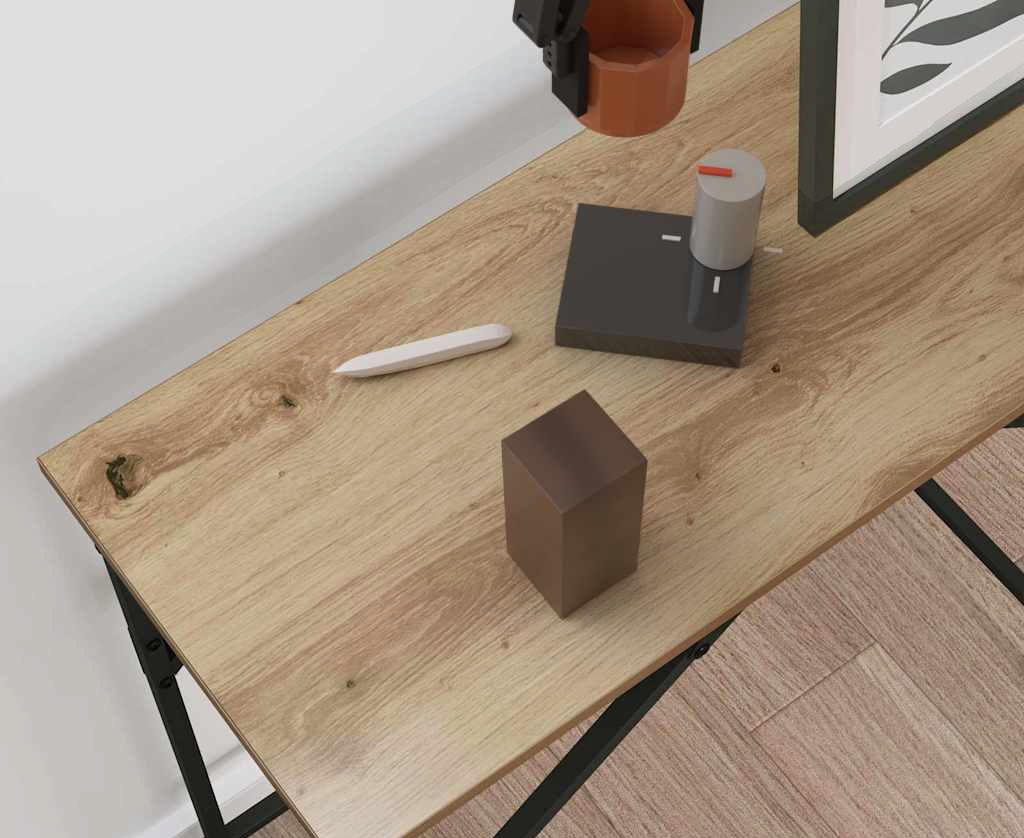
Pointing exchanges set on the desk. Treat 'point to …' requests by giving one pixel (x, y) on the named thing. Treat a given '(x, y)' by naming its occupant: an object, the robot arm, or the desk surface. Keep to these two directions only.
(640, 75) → the bowl
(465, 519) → the desk surface
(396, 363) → the pen
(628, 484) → the stand
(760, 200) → the knob
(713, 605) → the desk surface
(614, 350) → the stove
